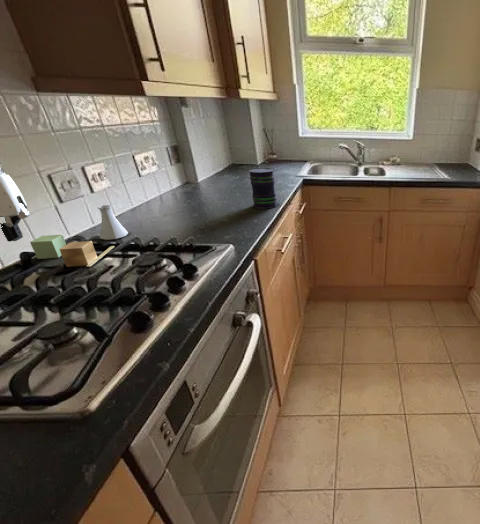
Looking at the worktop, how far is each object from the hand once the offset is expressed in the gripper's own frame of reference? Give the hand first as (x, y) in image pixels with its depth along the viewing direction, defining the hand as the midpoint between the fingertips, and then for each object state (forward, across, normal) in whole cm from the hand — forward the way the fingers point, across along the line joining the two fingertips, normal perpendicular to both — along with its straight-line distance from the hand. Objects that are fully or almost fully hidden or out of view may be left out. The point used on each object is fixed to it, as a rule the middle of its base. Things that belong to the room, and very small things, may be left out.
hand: (15, 239), depth 90 cm
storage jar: (+6, +63, +43) cm, 76 cm away
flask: (+6, +17, +13) cm, 22 cm away
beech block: (+5, +17, -7) cm, 19 cm away
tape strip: (+5, +20, -4) cm, 21 cm away
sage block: (+5, +7, 0) cm, 9 cm away
